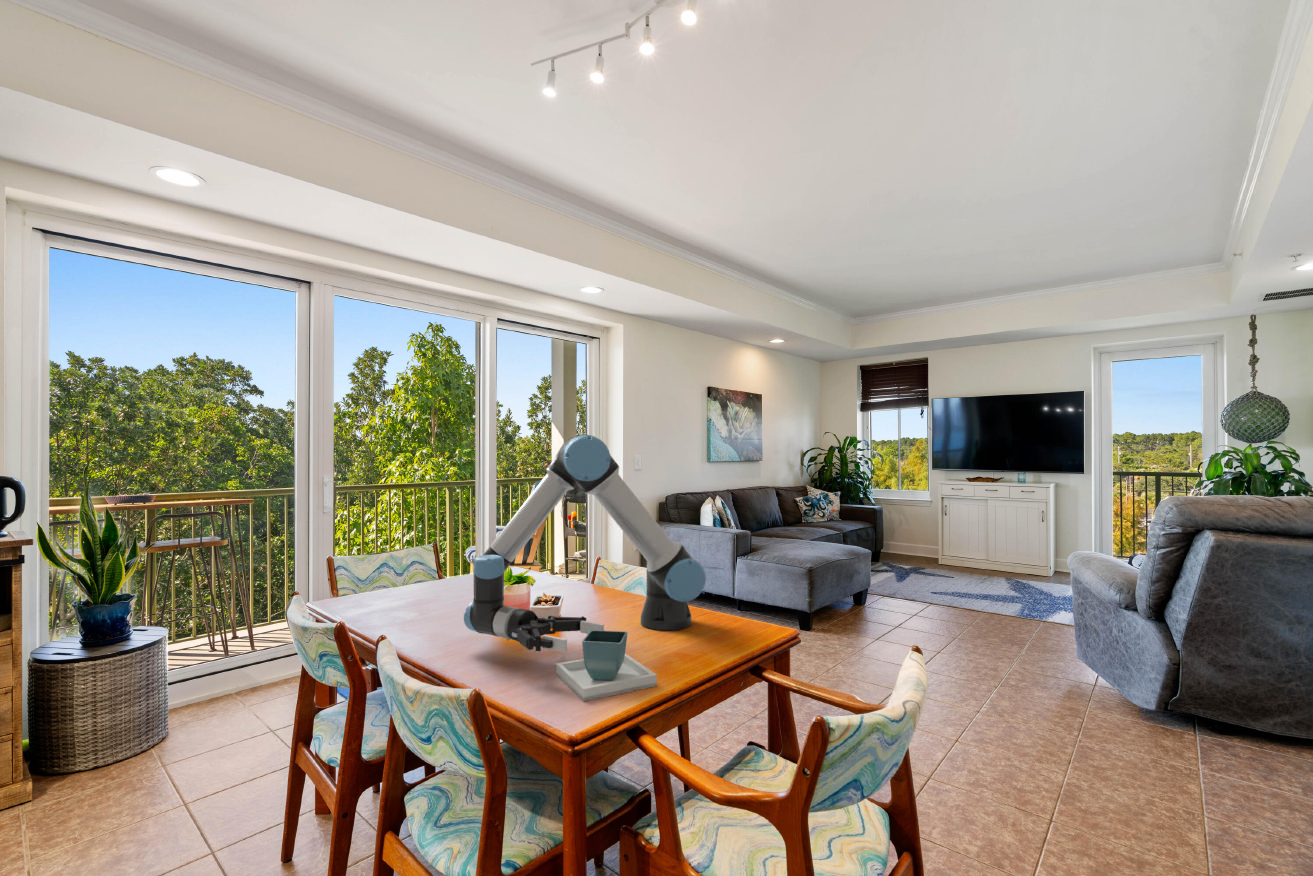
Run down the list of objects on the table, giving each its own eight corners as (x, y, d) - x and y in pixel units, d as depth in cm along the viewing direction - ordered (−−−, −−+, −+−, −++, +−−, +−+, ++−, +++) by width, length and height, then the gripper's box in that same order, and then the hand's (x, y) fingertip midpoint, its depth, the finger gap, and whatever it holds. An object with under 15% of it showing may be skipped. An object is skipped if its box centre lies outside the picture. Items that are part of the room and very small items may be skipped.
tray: (623, 662, 147) (623, 652, 147) (656, 686, 132) (656, 674, 132) (556, 674, 139) (556, 663, 139) (583, 701, 124) (583, 689, 124)
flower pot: (627, 670, 140) (627, 630, 140) (621, 684, 131) (621, 642, 131) (590, 668, 141) (590, 629, 141) (581, 683, 132) (581, 641, 132)
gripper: (550, 627, 160) (616, 640, 149) (477, 653, 139) (548, 671, 128) (550, 598, 160) (616, 609, 149) (477, 620, 139) (548, 635, 128)
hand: (585, 638), depth 139 cm, fingers open, 13 cm apart
